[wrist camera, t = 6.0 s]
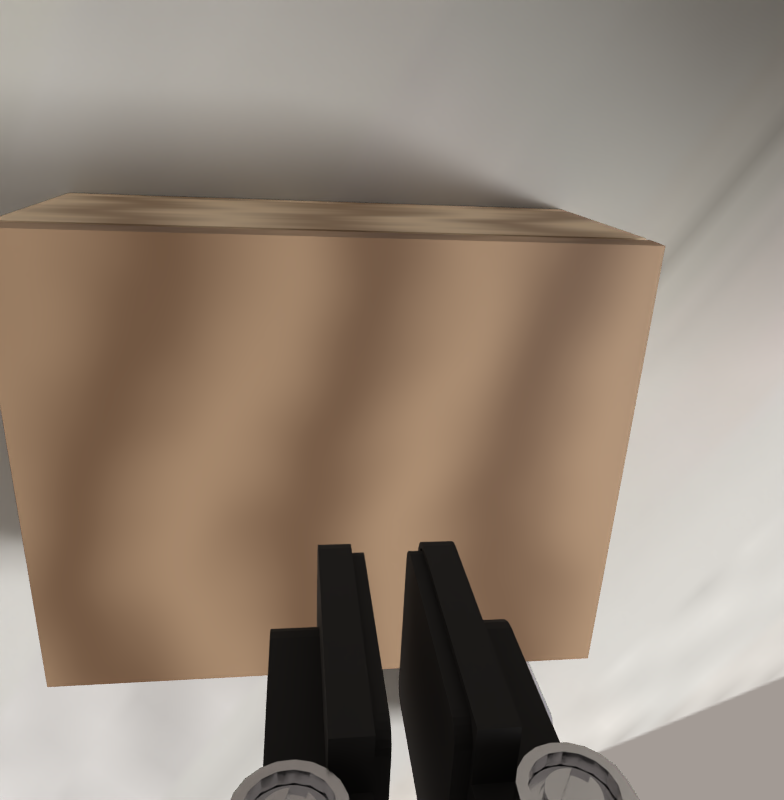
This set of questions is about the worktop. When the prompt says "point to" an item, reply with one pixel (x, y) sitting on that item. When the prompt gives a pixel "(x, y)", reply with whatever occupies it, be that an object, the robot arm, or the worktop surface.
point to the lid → (309, 430)
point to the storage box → (312, 216)
